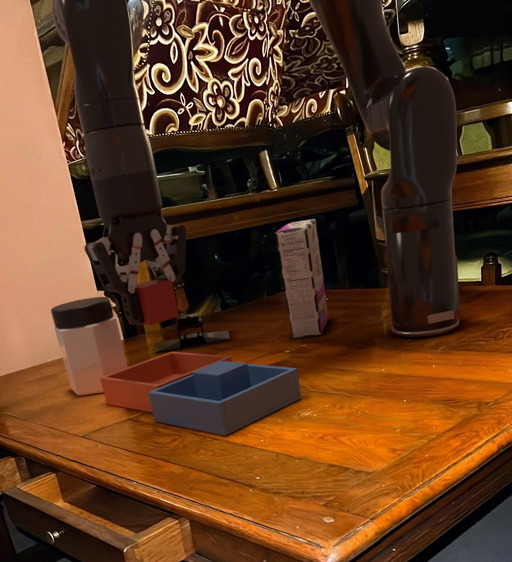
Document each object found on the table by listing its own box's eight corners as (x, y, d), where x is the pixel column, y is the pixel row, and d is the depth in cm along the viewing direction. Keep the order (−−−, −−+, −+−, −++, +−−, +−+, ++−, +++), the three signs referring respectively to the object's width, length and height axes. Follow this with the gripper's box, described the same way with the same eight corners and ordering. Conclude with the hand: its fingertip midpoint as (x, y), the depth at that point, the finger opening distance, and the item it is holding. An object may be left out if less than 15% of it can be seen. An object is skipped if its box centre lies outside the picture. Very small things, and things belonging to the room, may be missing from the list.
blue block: (227, 396, 83) (220, 360, 81) (253, 400, 80) (247, 363, 78) (199, 409, 80) (191, 372, 78) (225, 413, 77) (218, 375, 75)
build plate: (155, 354, 114) (149, 326, 112) (158, 345, 121) (152, 318, 119) (229, 340, 114) (224, 312, 112) (228, 331, 121) (223, 305, 119)
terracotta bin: (177, 376, 98) (172, 351, 97) (236, 383, 90) (231, 356, 88) (106, 404, 91) (99, 377, 89) (163, 414, 82) (157, 386, 81)
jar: (136, 384, 98) (117, 299, 93) (80, 399, 95) (57, 313, 90) (120, 373, 105) (101, 294, 101) (67, 387, 102) (45, 306, 98)
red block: (157, 315, 90) (149, 280, 88) (179, 316, 86) (171, 280, 85) (129, 324, 87) (121, 288, 85) (150, 325, 84) (142, 287, 82)
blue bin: (229, 388, 88) (224, 361, 87) (301, 398, 80) (297, 368, 78) (154, 421, 80) (147, 392, 79) (225, 436, 72) (219, 403, 71)
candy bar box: (300, 323, 118) (286, 223, 112) (329, 319, 117) (317, 218, 110) (290, 339, 108) (274, 230, 102) (322, 335, 107) (307, 225, 100)
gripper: (88, 176, 73) (125, 334, 79) (190, 161, 82) (215, 305, 88) (53, 184, 78) (89, 332, 85) (152, 169, 87) (178, 304, 94)
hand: (154, 317), depth 86 cm, fingers closed on red block, 4 cm apart
